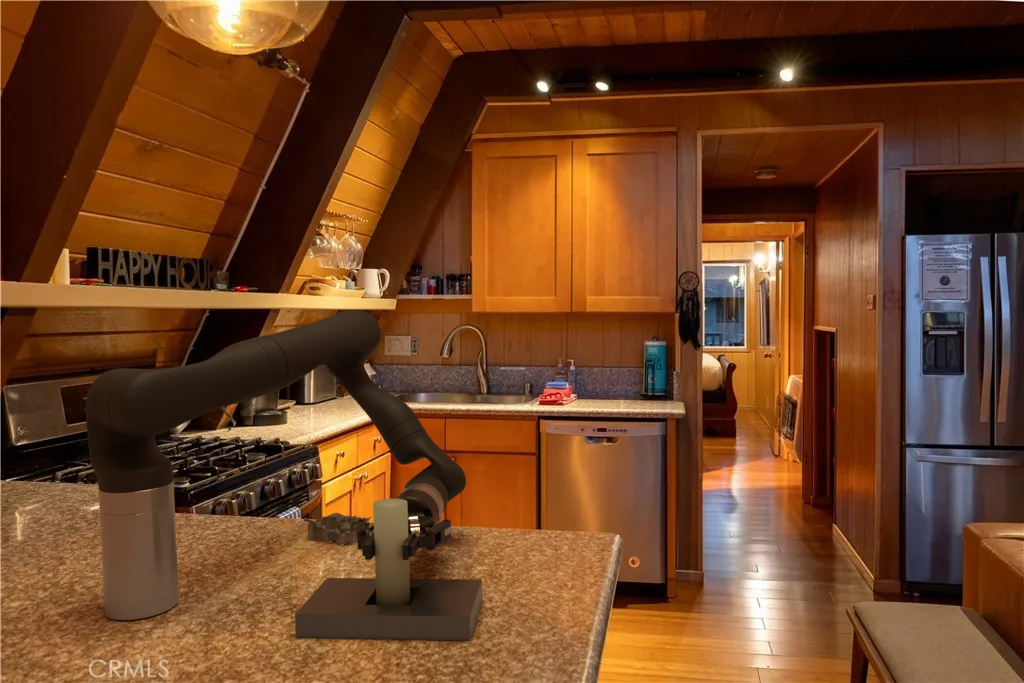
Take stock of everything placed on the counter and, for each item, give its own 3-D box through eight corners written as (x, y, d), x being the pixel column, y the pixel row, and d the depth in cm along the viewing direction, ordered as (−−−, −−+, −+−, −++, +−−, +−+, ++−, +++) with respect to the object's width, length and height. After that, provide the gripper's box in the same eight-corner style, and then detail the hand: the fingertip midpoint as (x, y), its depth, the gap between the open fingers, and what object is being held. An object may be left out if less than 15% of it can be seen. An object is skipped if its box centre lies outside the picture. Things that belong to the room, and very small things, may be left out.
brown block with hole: (295, 637, 91) (294, 614, 91) (327, 598, 103) (327, 577, 103) (470, 640, 89) (469, 616, 89) (482, 600, 101) (481, 579, 101)
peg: (370, 607, 96) (366, 503, 95) (398, 598, 99) (395, 496, 98) (388, 618, 93) (385, 509, 92) (417, 607, 96) (413, 502, 95)
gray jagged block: (301, 540, 130) (300, 518, 130) (330, 528, 137) (329, 507, 137) (347, 548, 125) (346, 525, 125) (375, 536, 132) (374, 513, 131)
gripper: (368, 488, 110) (330, 523, 93) (461, 488, 109) (440, 523, 92) (369, 537, 111) (332, 580, 94) (462, 538, 109) (442, 582, 92)
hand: (386, 552), depth 93 cm, fingers closed on peg, 4 cm apart
